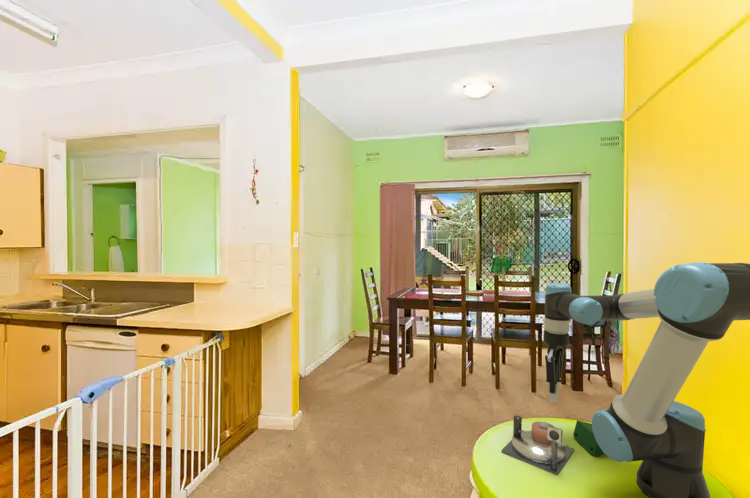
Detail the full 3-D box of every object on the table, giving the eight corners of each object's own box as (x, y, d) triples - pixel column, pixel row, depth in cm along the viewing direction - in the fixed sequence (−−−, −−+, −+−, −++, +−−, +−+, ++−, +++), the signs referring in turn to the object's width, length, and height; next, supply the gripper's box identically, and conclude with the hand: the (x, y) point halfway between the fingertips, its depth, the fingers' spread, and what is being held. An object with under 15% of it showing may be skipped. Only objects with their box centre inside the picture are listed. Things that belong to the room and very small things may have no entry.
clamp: (604, 467, 118) (620, 448, 114) (586, 463, 117) (601, 443, 114) (587, 433, 129) (601, 415, 125) (570, 429, 128) (583, 410, 124)
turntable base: (575, 451, 118) (576, 412, 118) (558, 475, 107) (560, 432, 106) (521, 432, 129) (523, 396, 129) (501, 452, 117) (502, 413, 117)
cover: (558, 437, 122) (559, 423, 121) (551, 446, 116) (552, 432, 116) (536, 429, 126) (536, 416, 126) (527, 438, 121) (528, 424, 121)
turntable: (571, 448, 119) (572, 424, 118) (556, 470, 107) (557, 443, 107) (522, 430, 129) (523, 408, 128) (503, 449, 118) (504, 424, 117)
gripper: (550, 325, 134) (547, 391, 135) (537, 332, 124) (534, 404, 126) (574, 329, 129) (571, 398, 130) (562, 337, 119) (558, 412, 121)
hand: (553, 401), depth 128 cm, fingers closed
